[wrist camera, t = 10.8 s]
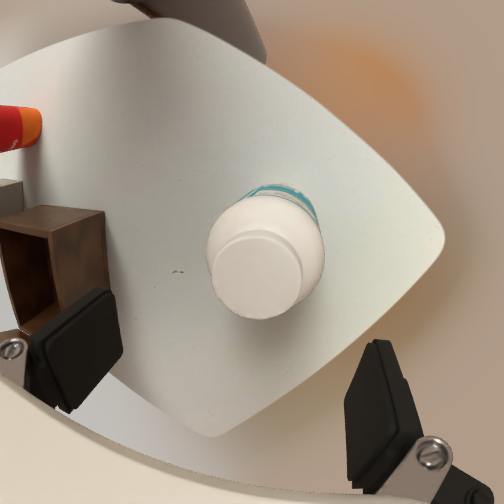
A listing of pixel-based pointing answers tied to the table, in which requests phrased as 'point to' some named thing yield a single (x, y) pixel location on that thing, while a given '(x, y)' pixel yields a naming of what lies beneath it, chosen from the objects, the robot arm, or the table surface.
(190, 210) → the table surface
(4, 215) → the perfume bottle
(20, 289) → the chest
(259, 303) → the pill bottle
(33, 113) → the paper cup
